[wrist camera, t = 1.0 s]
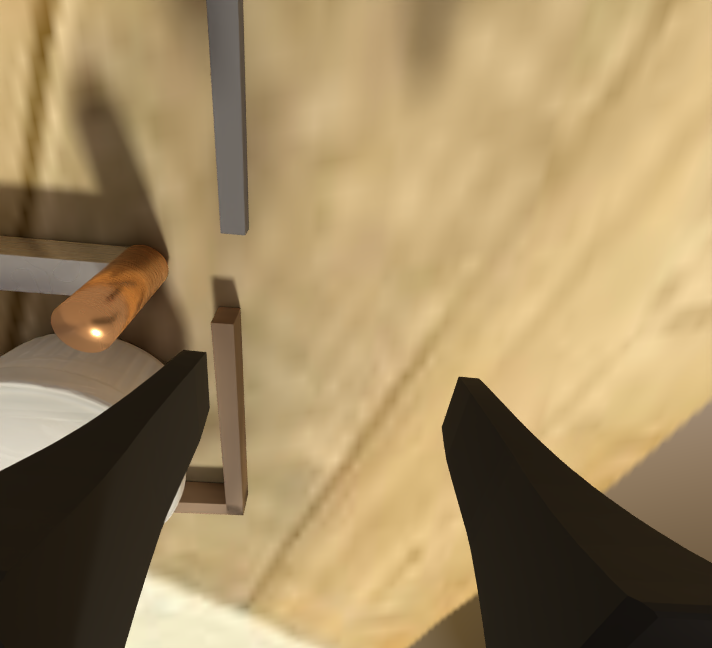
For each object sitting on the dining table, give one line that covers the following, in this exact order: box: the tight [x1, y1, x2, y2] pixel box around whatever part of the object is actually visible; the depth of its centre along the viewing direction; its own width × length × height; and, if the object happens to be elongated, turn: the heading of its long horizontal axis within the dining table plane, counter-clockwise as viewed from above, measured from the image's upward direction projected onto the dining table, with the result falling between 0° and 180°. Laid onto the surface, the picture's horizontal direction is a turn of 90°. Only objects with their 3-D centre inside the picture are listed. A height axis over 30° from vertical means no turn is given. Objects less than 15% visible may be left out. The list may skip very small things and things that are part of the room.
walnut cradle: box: [174, 307, 248, 515], centre depth 23 cm, size 15×14×2 cm
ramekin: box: [0, 334, 186, 523], centre depth 21 cm, size 11×11×5 cm
